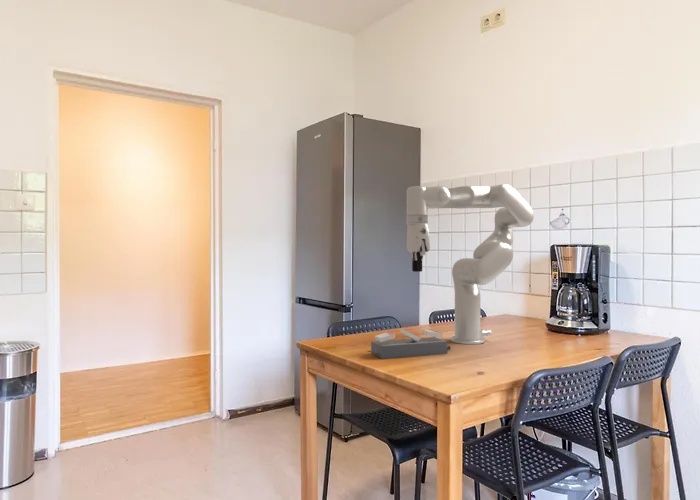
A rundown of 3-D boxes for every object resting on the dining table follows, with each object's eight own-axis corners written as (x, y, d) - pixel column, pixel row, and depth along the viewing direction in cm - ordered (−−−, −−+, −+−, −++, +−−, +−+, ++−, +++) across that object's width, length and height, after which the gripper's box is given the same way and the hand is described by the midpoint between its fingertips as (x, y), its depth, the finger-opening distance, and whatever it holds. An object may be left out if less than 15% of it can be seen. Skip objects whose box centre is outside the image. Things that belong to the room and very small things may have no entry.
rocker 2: (412, 339, 167) (414, 335, 167) (418, 341, 163) (420, 337, 163) (399, 332, 166) (401, 328, 166) (405, 334, 161) (407, 330, 162)
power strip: (443, 347, 173) (443, 335, 173) (456, 352, 165) (456, 340, 165) (371, 353, 165) (371, 340, 165) (381, 359, 156) (380, 345, 156)
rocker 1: (390, 335, 164) (389, 330, 164) (395, 337, 160) (394, 333, 160) (375, 339, 163) (374, 335, 163) (380, 342, 159) (379, 337, 158)
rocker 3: (435, 335, 170) (436, 331, 170) (441, 337, 166) (442, 333, 166) (421, 333, 168) (422, 328, 168) (427, 335, 164) (428, 331, 164)
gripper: (436, 219, 170) (436, 272, 170) (417, 221, 184) (417, 270, 184) (416, 219, 167) (417, 272, 168) (399, 221, 182) (399, 270, 182)
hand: (417, 271), depth 176 cm, fingers closed
